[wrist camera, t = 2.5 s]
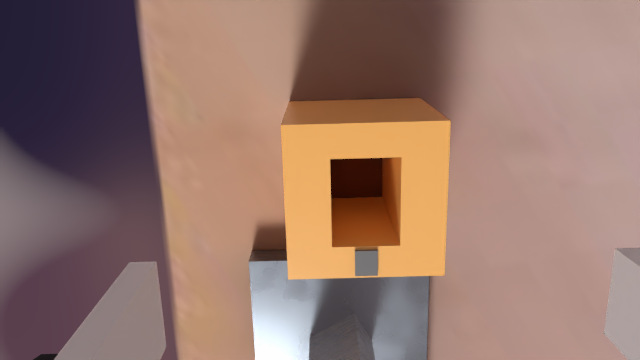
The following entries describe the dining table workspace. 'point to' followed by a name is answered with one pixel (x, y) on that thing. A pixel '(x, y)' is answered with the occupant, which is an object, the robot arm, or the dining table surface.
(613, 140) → the dining table surface
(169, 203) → the dining table surface
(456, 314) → the dining table surface
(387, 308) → the post plate
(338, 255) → the orange slotted box
